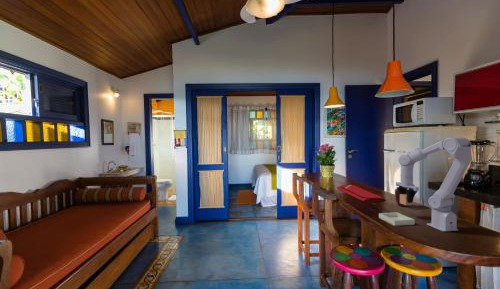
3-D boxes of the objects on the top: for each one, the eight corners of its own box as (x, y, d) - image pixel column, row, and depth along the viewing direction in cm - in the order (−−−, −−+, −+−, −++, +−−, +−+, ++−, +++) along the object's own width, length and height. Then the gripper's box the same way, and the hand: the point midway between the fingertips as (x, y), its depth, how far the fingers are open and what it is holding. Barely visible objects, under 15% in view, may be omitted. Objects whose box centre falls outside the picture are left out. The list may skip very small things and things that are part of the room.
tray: (414, 224, 125) (414, 219, 125) (394, 225, 123) (394, 220, 123) (397, 216, 137) (397, 212, 137) (378, 218, 135) (378, 213, 135)
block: (413, 204, 135) (413, 195, 135) (405, 205, 135) (405, 196, 134) (407, 202, 140) (407, 193, 139) (399, 203, 139) (399, 194, 139)
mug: (415, 209, 151) (415, 192, 150) (401, 209, 151) (401, 192, 150) (404, 204, 161) (405, 188, 161) (392, 204, 161) (392, 188, 161)
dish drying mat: (363, 202, 168) (363, 197, 168) (336, 189, 209) (336, 185, 209) (385, 201, 170) (385, 196, 169) (354, 188, 210) (354, 184, 210)
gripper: (424, 178, 130) (423, 204, 130) (403, 174, 144) (403, 197, 145) (411, 179, 129) (411, 205, 129) (392, 174, 143) (392, 198, 144)
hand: (406, 201), depth 137 cm, fingers closed on block, 4 cm apart
